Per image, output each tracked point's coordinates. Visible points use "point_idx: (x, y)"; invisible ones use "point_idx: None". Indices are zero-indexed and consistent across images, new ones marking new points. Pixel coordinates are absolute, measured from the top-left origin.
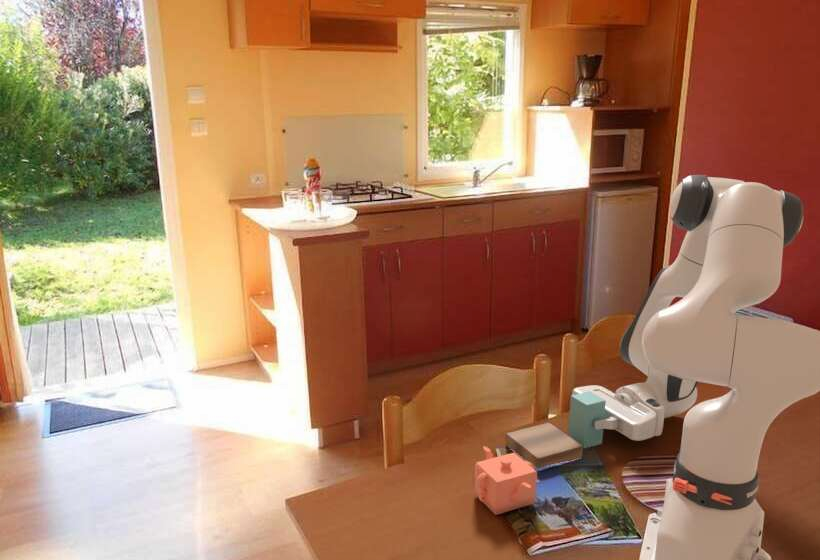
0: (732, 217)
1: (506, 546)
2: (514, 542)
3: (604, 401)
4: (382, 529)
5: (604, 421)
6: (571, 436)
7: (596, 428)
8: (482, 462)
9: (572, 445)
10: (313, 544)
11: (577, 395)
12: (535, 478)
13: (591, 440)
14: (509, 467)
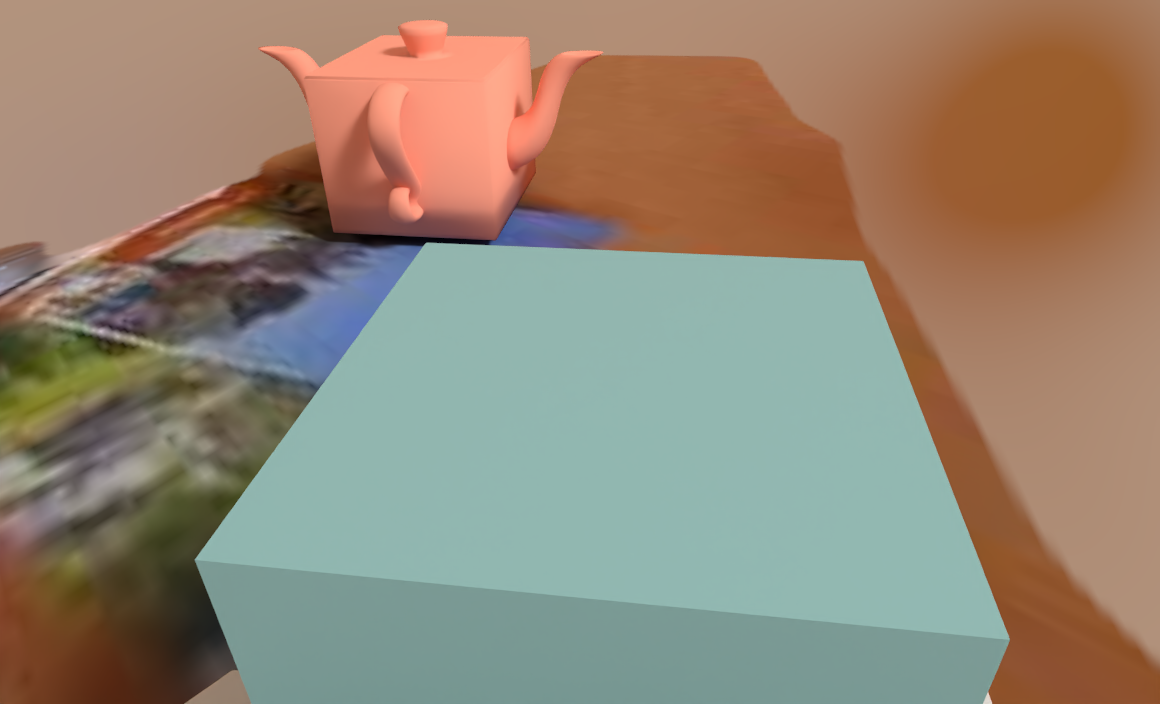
0: None
1: (294, 159)
2: (284, 170)
3: (224, 537)
4: (566, 89)
5: (223, 691)
6: None
7: None
8: (512, 41)
9: None
10: (603, 55)
11: (823, 312)
12: (312, 110)
13: None
14: (411, 55)
